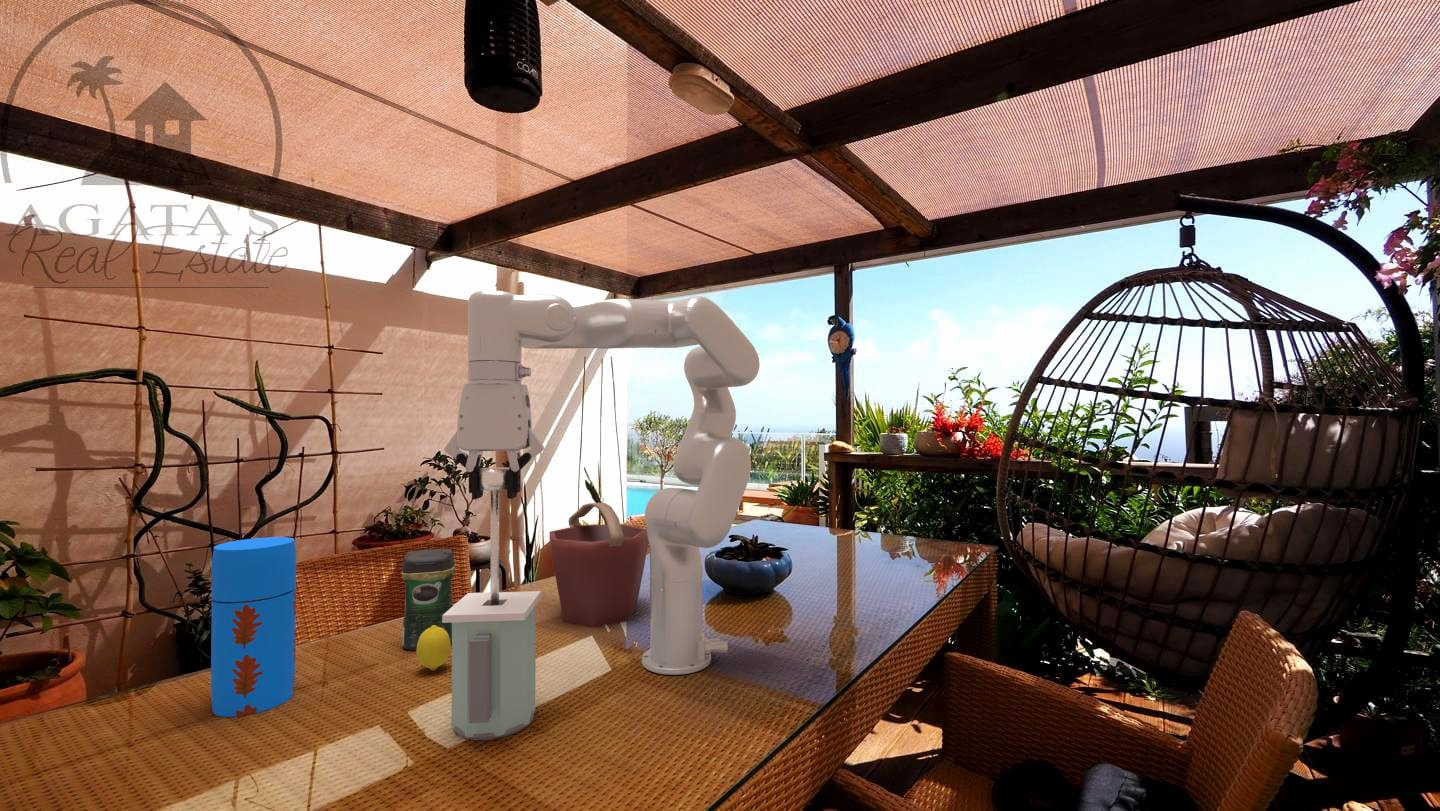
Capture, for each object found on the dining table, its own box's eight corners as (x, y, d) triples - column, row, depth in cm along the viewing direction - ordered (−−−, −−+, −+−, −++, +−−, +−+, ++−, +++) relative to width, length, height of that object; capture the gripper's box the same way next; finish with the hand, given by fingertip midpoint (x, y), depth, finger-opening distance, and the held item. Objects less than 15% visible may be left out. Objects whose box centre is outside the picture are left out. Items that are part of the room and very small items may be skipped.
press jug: (520, 747, 86) (520, 618, 86) (435, 750, 85) (435, 621, 86) (541, 702, 100) (541, 591, 100) (467, 705, 99) (468, 593, 99)
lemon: (437, 678, 109) (437, 631, 109) (409, 675, 110) (409, 629, 110) (457, 665, 115) (457, 621, 115) (429, 663, 116) (430, 619, 116)
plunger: (528, 623, 98) (528, 466, 99) (515, 641, 90) (515, 470, 91) (475, 624, 98) (475, 466, 98) (457, 643, 90) (458, 471, 90)
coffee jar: (457, 634, 131) (457, 544, 131) (452, 647, 123) (452, 552, 124) (405, 639, 128) (406, 547, 129) (397, 653, 121) (398, 555, 121)
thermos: (202, 723, 93) (203, 553, 94) (219, 695, 103) (220, 540, 103) (290, 707, 98) (291, 545, 99) (299, 682, 108) (300, 534, 108)
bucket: (548, 603, 153) (548, 499, 153) (639, 595, 159) (638, 495, 160) (553, 637, 129) (552, 514, 130) (659, 625, 136) (659, 508, 136)
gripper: (556, 376, 99) (557, 494, 99) (445, 376, 98) (445, 495, 97) (547, 373, 91) (547, 500, 91) (426, 373, 90) (426, 502, 90)
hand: (494, 496), depth 94 cm, fingers closed on plunger, 4 cm apart
